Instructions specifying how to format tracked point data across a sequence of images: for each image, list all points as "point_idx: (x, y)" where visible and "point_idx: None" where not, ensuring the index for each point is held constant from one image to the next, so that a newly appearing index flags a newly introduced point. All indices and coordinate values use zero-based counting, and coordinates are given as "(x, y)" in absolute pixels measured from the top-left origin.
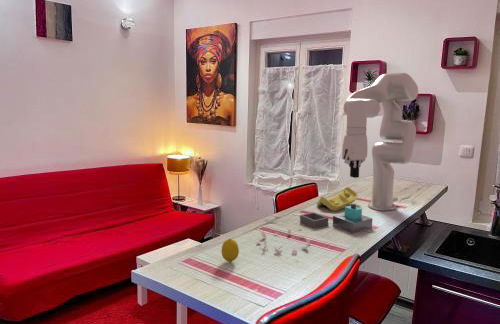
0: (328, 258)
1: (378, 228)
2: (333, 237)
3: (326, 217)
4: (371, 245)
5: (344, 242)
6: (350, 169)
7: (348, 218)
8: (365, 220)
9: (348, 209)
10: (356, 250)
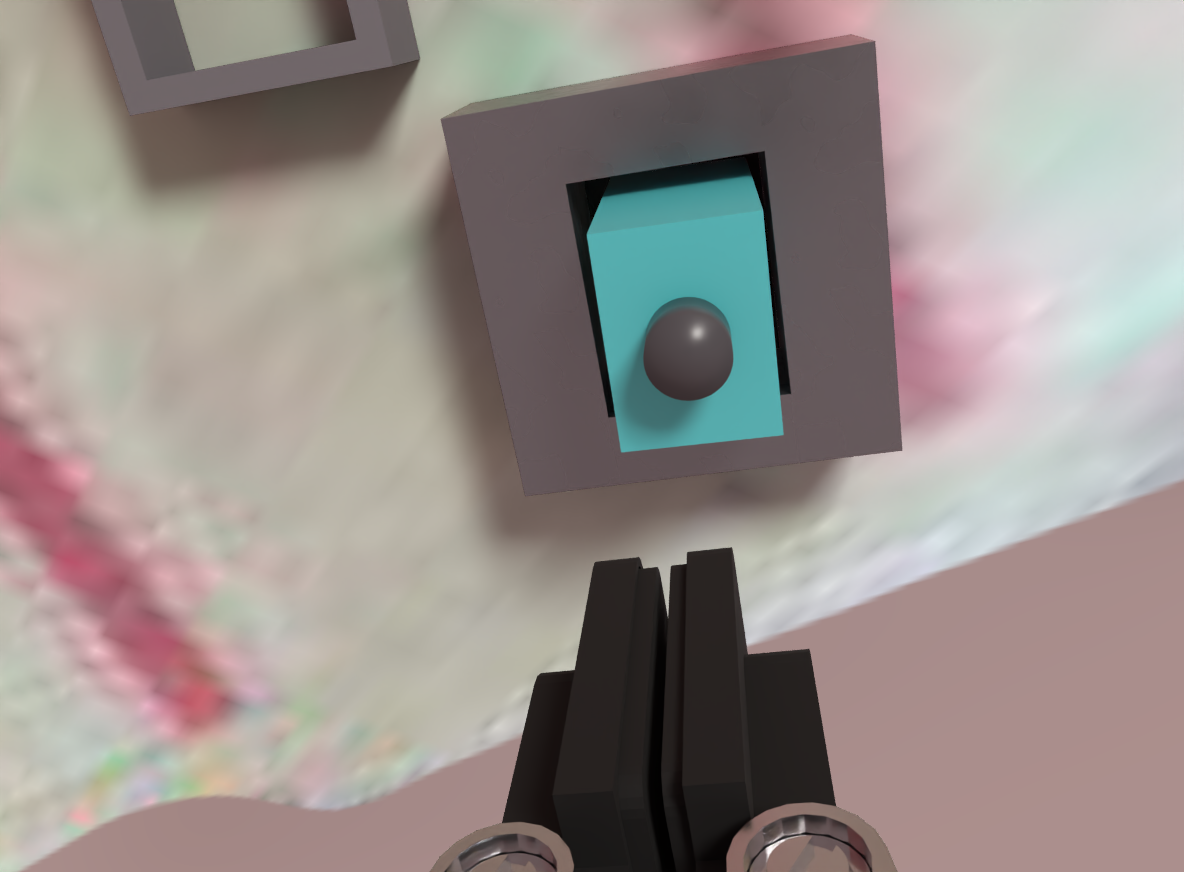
0: (28, 775)
1: (939, 442)
2: (270, 453)
3: (372, 38)
4: (512, 738)
5: (312, 596)
6: (571, 718)
7: (587, 317)
8: (757, 466)
9: (602, 314)
10: (320, 758)
